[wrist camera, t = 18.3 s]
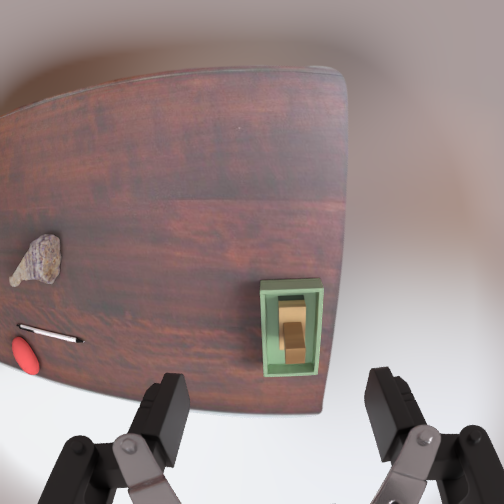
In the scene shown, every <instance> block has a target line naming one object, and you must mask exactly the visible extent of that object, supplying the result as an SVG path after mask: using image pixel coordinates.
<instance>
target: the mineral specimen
mask: <svg viewBox="0 0 504 504" xmlns="http://www.w3.org/2000/svg"><path fill="white" fill-rule="evenodd" d="M60 261H61V254H60V240H59V238H58V237H56V236H55V235H53V234H44V235H42V236H40V237H38V239H36V240H35V241H32V243H31V244H30V248H29V250H28V251H27V253H26V254H25V256H24V258H23V259H22V261H21V263H20V264H19V266H18V267H17V269H16V271H15V272H14V273H13V275H11V276H10V277H9V281H10V284H11V286H13V287H16V286H18V285H19V284H20V282H21V281H22V280H29V279H30V280H32V279H37V280H39V281H41V282H43V283H47V284H52V283H53V282H54V280H55V278H56V277H57V275H59V272H60V266H59V265H60Z"/></svg>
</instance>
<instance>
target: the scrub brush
mask: <svg viewBox="0 0 504 504" xmlns="http://www.w3.org/2000/svg"><path fill="white" fill-rule="evenodd" d="M278 325H279V350H284V351H285V364H301V363H305V354H306V346H305V327H306V304H305V299H304V295H287V296H278Z"/></svg>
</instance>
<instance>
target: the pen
mask: <svg viewBox="0 0 504 504" xmlns="http://www.w3.org/2000/svg"><path fill="white" fill-rule="evenodd" d="M17 326H18V327H19V328H20V329H23V330H26V331H30V332H33V333H34V332H36V333H39V334H43V335H47V336H51V337H55V338H59V339H63V340H68V341H72V342H76V343H79V342H84V341H82V340H80V339H78V338H75V337H70V336H66V335H61V334H57V333H53V332H49V331H45V330H41V329H37V328H33V327H29V326H26V325H22V324H20V325H18V324H17Z"/></svg>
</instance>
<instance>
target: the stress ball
mask: <svg viewBox="0 0 504 504" xmlns="http://www.w3.org/2000/svg"><path fill="white" fill-rule="evenodd" d="M12 349H13V354H14V356H15V359H16V361H17V362H18V364H19V365H20V367H21V368H22V369H23V370H24V371H25V372H26V373H28V374H30V375H35V374H37V373H38V372H39V362H38V360H37V358H36V356H35V354H34V353H33V351H32V349H31V347H30V346H29V344H28V343H27V342H26V341H25V340H24V339H23V338H21V337H16V338H14V339H13V342H12Z"/></svg>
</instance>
